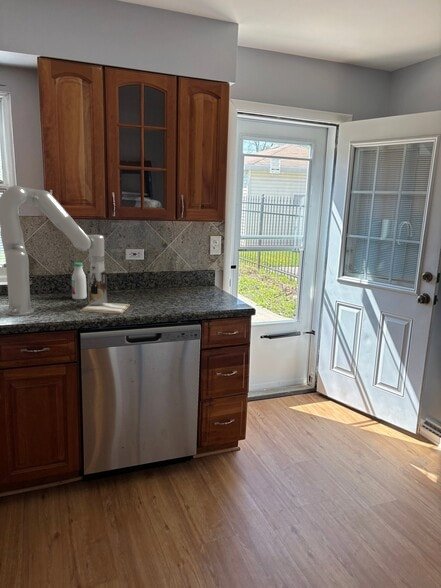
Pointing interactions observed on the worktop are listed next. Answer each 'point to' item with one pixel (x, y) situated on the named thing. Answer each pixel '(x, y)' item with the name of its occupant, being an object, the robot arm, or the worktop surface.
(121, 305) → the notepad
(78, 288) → the milk bottle
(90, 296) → the coffee box
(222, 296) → the worktop surface
